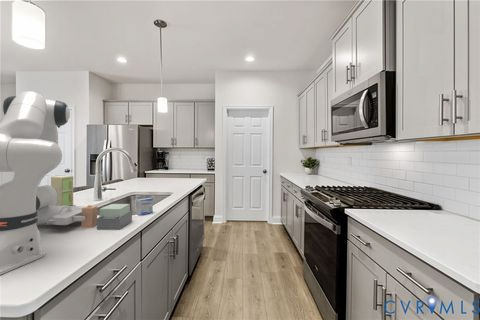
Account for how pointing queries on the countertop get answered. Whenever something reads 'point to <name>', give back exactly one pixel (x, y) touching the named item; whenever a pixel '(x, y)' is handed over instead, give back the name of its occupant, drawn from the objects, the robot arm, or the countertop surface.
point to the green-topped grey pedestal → (114, 217)
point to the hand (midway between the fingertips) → (91, 215)
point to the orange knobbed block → (89, 216)
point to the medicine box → (144, 206)
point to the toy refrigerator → (63, 189)
